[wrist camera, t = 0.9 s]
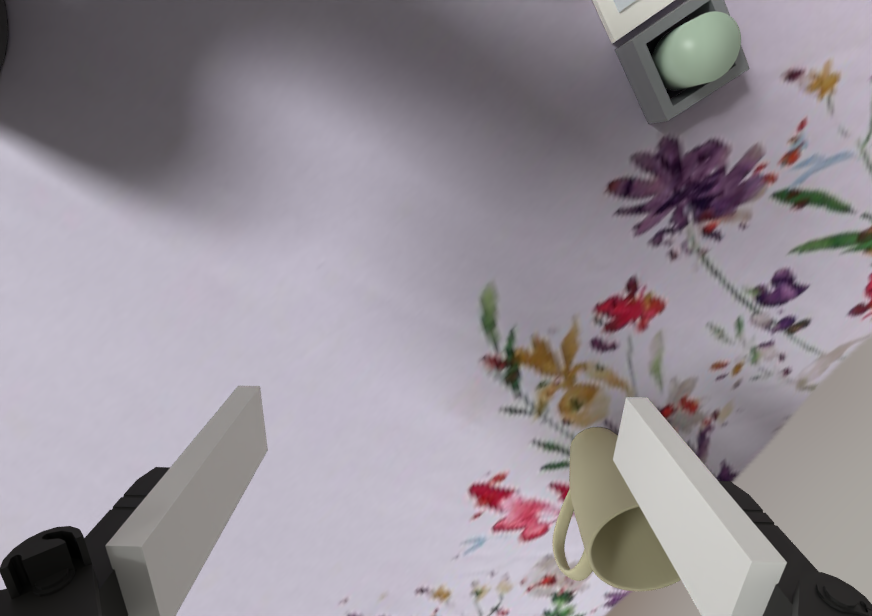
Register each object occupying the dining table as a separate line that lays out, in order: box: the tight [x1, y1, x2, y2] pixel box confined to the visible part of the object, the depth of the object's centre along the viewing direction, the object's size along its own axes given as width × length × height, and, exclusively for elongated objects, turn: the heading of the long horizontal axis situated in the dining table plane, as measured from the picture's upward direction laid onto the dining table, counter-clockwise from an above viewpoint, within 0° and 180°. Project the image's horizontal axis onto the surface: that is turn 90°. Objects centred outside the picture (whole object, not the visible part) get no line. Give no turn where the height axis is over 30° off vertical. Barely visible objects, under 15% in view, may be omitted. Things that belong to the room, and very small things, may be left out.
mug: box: [553, 427, 681, 591], centre depth 39 cm, size 11×10×12 cm
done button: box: [652, 11, 741, 90], centre depth 29 cm, size 4×4×4 cm
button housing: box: [615, 0, 749, 124], centre depth 31 cm, size 6×6×3 cm
